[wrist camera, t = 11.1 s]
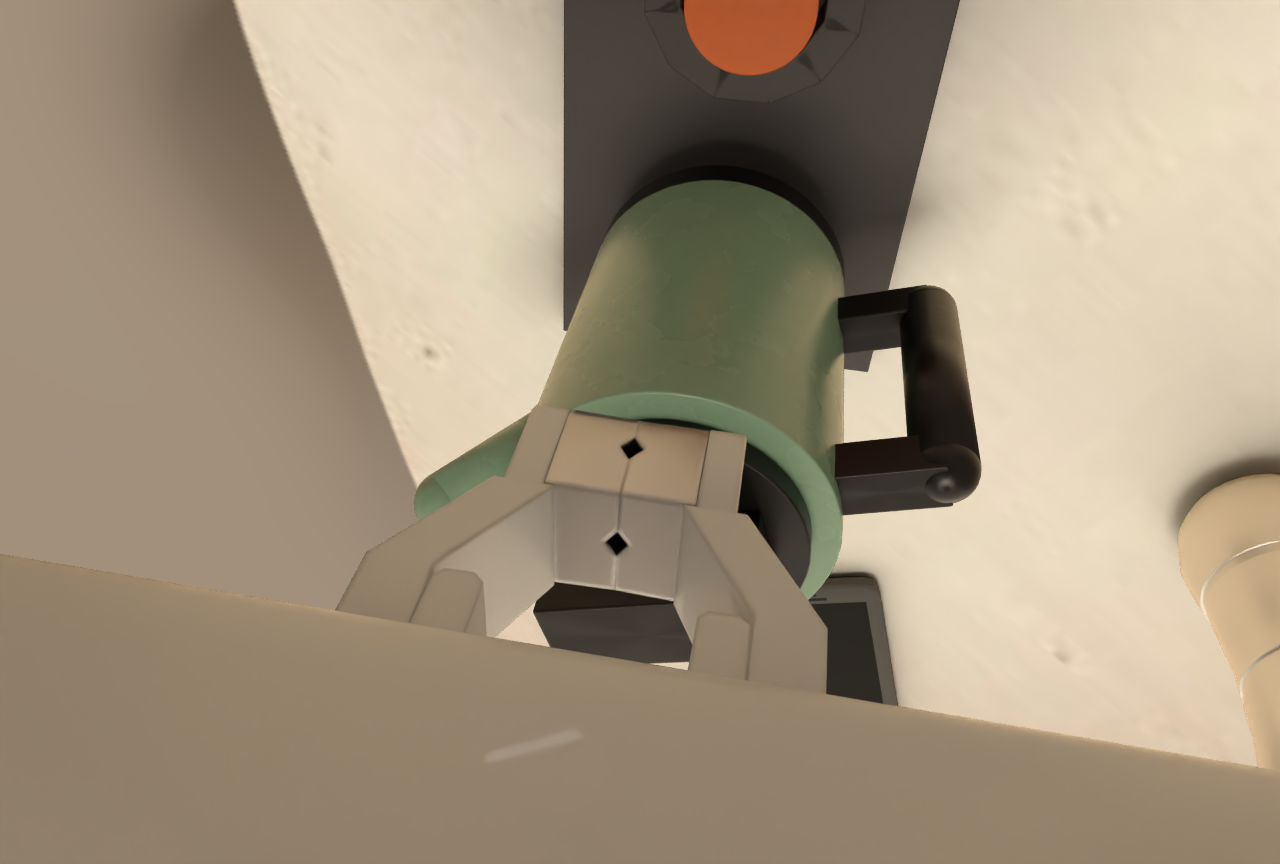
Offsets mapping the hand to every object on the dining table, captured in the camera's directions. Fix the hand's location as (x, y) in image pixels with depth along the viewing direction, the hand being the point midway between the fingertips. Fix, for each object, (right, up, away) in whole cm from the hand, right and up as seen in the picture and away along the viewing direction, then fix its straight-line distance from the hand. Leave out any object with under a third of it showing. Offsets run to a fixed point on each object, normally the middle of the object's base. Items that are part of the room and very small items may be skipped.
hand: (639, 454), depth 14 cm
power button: (+4, +14, +17) cm, 23 cm away
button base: (+4, +11, +23) cm, 25 cm away
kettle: (+3, +6, +23) cm, 24 cm away
